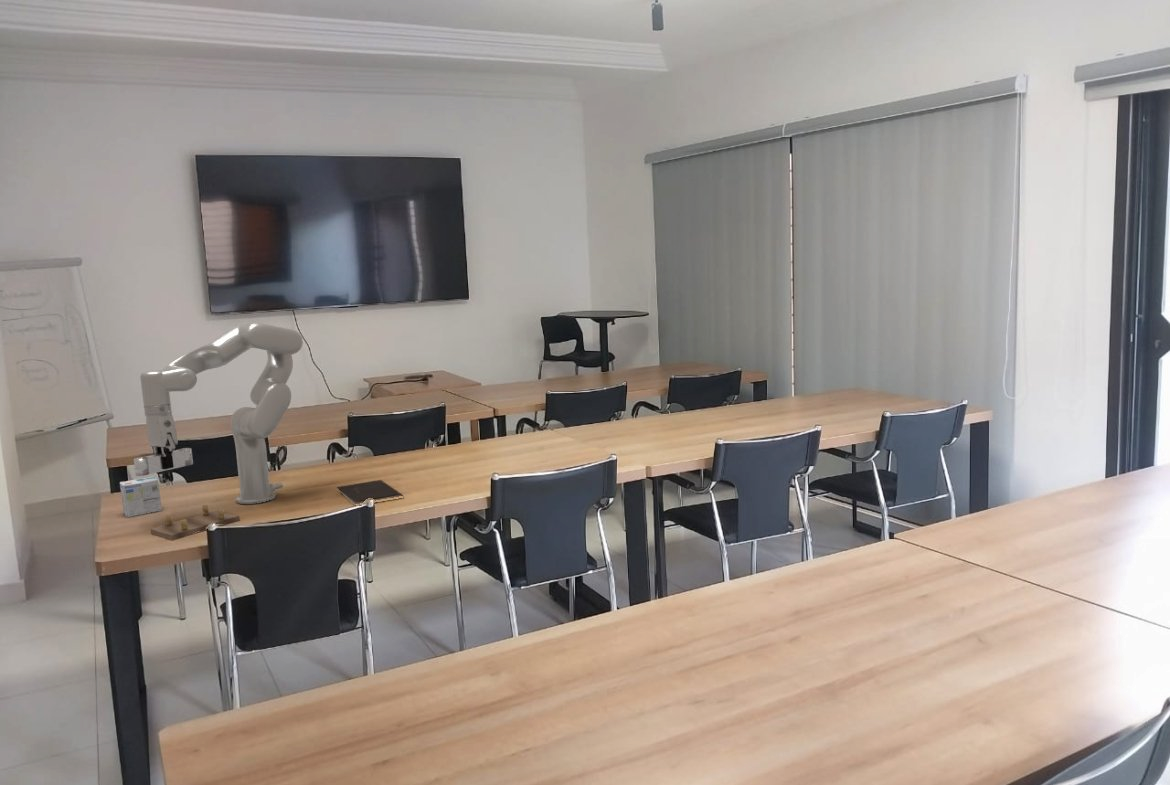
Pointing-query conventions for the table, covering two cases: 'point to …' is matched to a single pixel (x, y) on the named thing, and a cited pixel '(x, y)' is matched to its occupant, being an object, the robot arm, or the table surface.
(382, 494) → the hardcover book
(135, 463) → the silver dumbbell
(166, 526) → the tool board
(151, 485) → the light bulb box
